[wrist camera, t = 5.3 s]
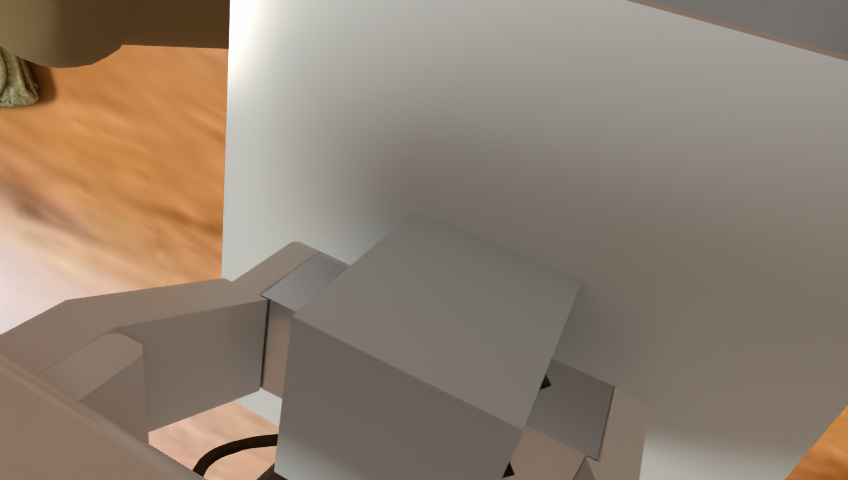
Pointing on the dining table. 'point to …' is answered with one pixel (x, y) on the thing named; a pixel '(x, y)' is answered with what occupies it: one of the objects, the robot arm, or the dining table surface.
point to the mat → (780, 18)
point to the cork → (107, 27)
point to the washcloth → (15, 81)
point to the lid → (541, 228)
